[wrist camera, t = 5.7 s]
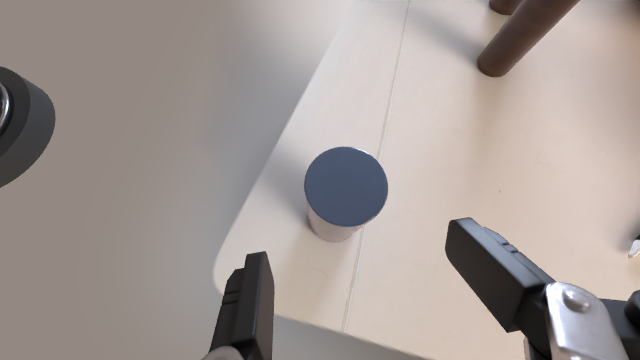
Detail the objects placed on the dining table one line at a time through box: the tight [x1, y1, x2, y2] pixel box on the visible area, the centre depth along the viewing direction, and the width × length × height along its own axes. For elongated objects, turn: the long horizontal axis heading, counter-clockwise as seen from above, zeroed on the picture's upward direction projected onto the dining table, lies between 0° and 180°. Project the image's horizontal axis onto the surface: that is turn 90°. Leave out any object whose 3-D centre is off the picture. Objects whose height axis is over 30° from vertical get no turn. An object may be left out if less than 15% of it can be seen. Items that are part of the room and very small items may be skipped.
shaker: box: [304, 147, 388, 242], centre depth 16 cm, size 4×4×9 cm
